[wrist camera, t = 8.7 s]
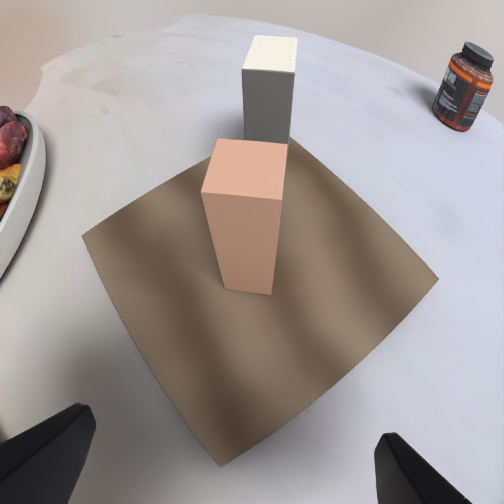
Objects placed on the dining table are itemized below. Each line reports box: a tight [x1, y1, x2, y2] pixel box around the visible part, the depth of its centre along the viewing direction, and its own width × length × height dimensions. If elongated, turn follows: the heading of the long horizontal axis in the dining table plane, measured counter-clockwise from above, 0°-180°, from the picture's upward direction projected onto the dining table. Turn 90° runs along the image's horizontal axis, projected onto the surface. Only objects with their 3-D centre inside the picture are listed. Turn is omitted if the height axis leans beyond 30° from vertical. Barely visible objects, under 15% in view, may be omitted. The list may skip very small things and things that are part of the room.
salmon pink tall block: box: [201, 139, 288, 295], centre depth 16 cm, size 3×3×10 cm
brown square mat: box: [81, 136, 439, 467], centre depth 22 cm, size 20×20×1 cm
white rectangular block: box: [242, 35, 298, 183], centre depth 21 cm, size 6×3×10 cm, turn 172°
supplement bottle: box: [433, 42, 494, 131], centre depth 27 cm, size 6×6×11 cm
